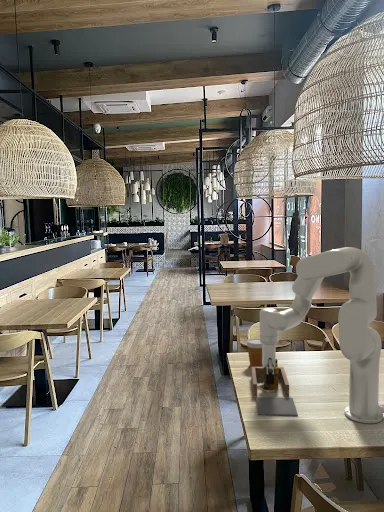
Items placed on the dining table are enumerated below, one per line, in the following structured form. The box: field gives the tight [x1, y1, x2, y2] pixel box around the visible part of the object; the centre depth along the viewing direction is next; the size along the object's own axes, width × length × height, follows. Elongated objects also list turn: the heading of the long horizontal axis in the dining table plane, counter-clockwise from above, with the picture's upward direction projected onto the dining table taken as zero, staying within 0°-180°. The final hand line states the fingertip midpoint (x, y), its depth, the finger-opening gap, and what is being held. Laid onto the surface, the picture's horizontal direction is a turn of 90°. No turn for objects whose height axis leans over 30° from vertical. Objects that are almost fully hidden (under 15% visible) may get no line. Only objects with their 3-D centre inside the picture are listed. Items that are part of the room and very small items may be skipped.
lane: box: [250, 366, 290, 398], centre depth 173 cm, size 14×20×5 cm
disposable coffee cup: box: [246, 338, 263, 368], centre depth 198 cm, size 10×10×12 cm
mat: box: [255, 396, 299, 417], centre depth 155 cm, size 14×14×1 cm
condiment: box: [257, 358, 283, 394], centre depth 172 cm, size 7×8×12 cm
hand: (269, 379), depth 172 cm, fingers open, 7 cm apart
